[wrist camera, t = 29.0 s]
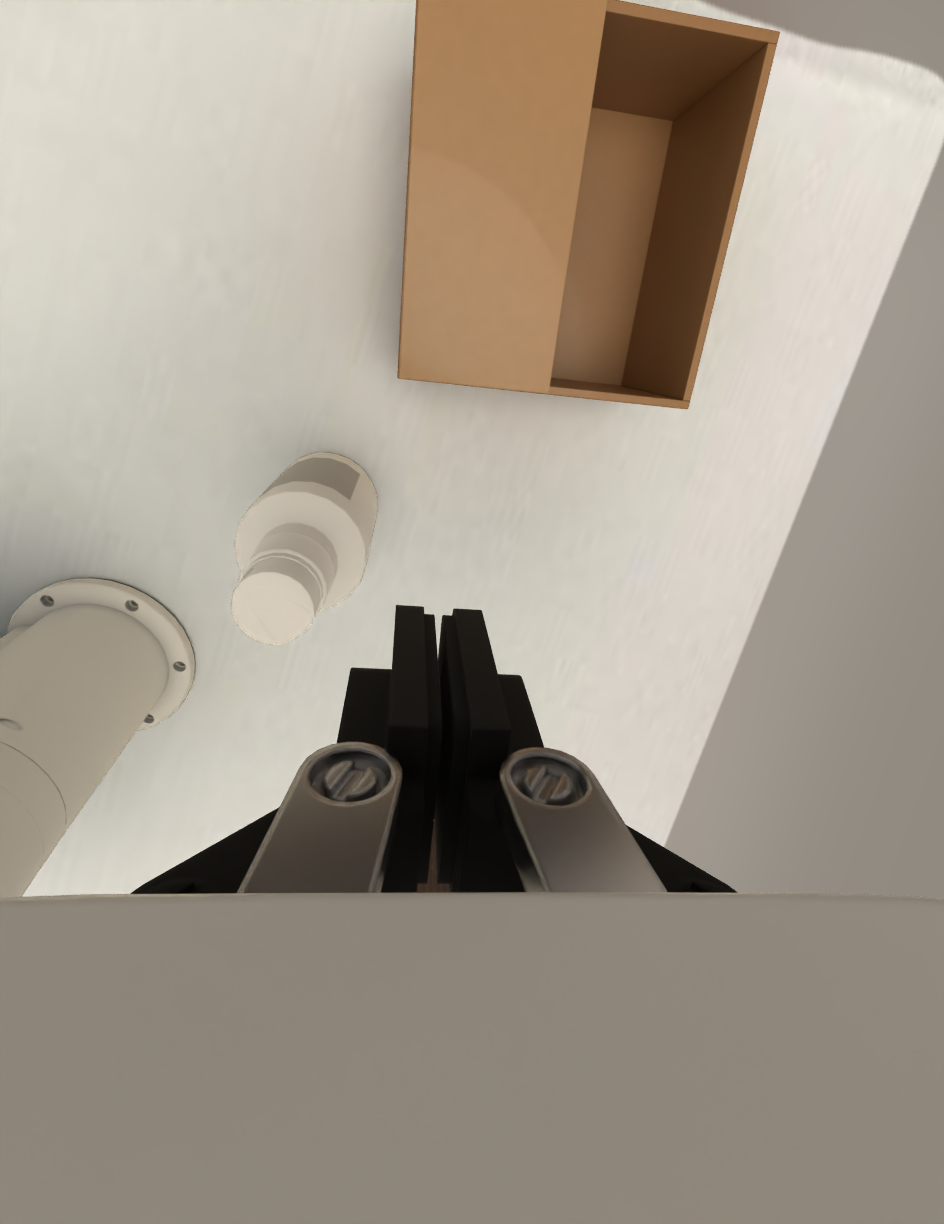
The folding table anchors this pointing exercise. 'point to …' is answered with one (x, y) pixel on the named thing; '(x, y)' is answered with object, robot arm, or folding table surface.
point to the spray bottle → (302, 546)
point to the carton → (654, 201)
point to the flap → (494, 186)
